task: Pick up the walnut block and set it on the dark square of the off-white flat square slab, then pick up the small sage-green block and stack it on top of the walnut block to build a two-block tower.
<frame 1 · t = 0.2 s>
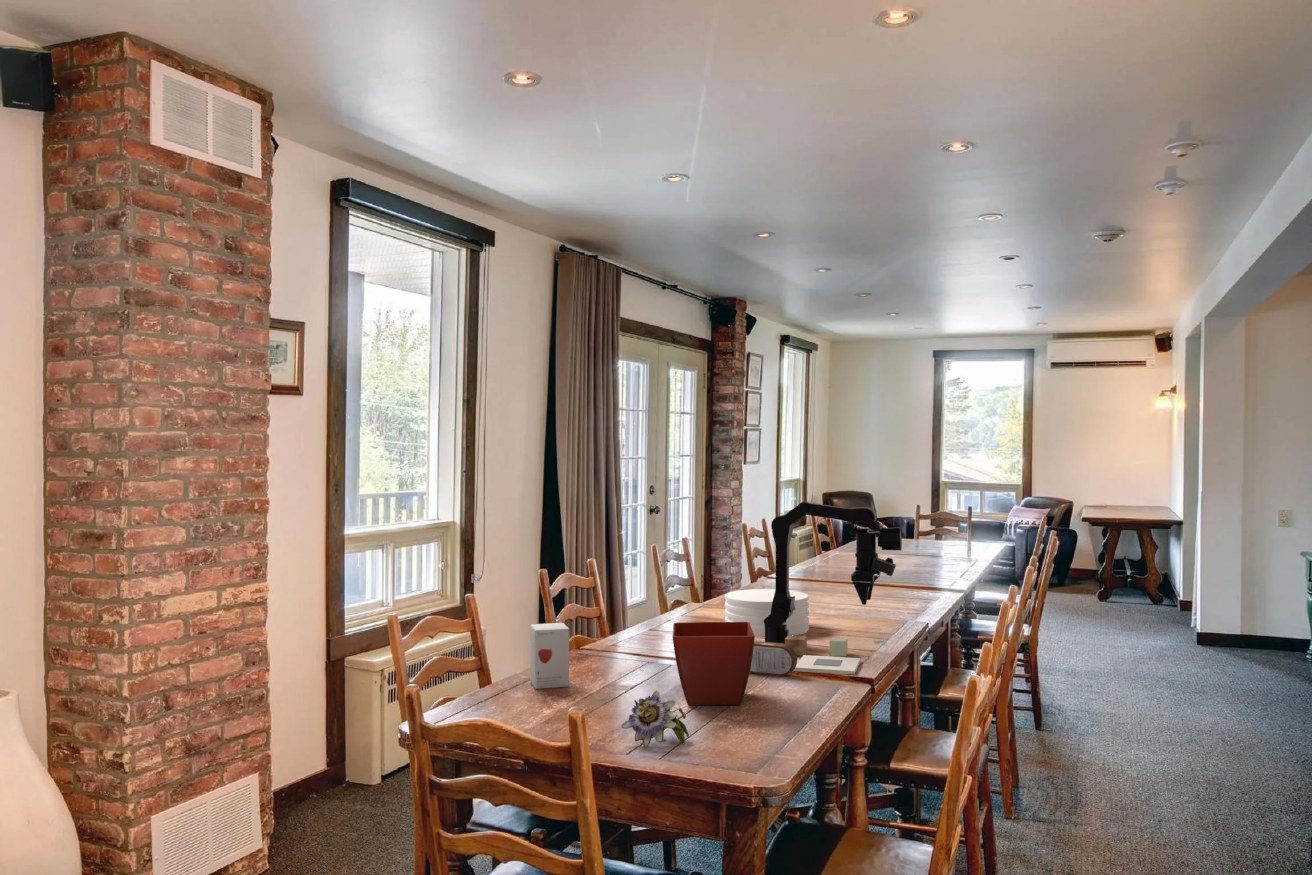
hand: (866, 602, 274), 14 cm above the table, tool pointing down, fingers open, 9 cm apart
walnut block: (796, 654, 270), on the table
tin: (768, 674, 246), on the table
passion flower: (656, 741, 190), on the table
plate stack: (766, 629, 310), on the table
off-white flat square slab: (828, 666, 254), on the table
plant pot: (713, 699, 222), on the table
supplement box: (549, 684, 238), on the table
sage block: (838, 654, 269), on the table
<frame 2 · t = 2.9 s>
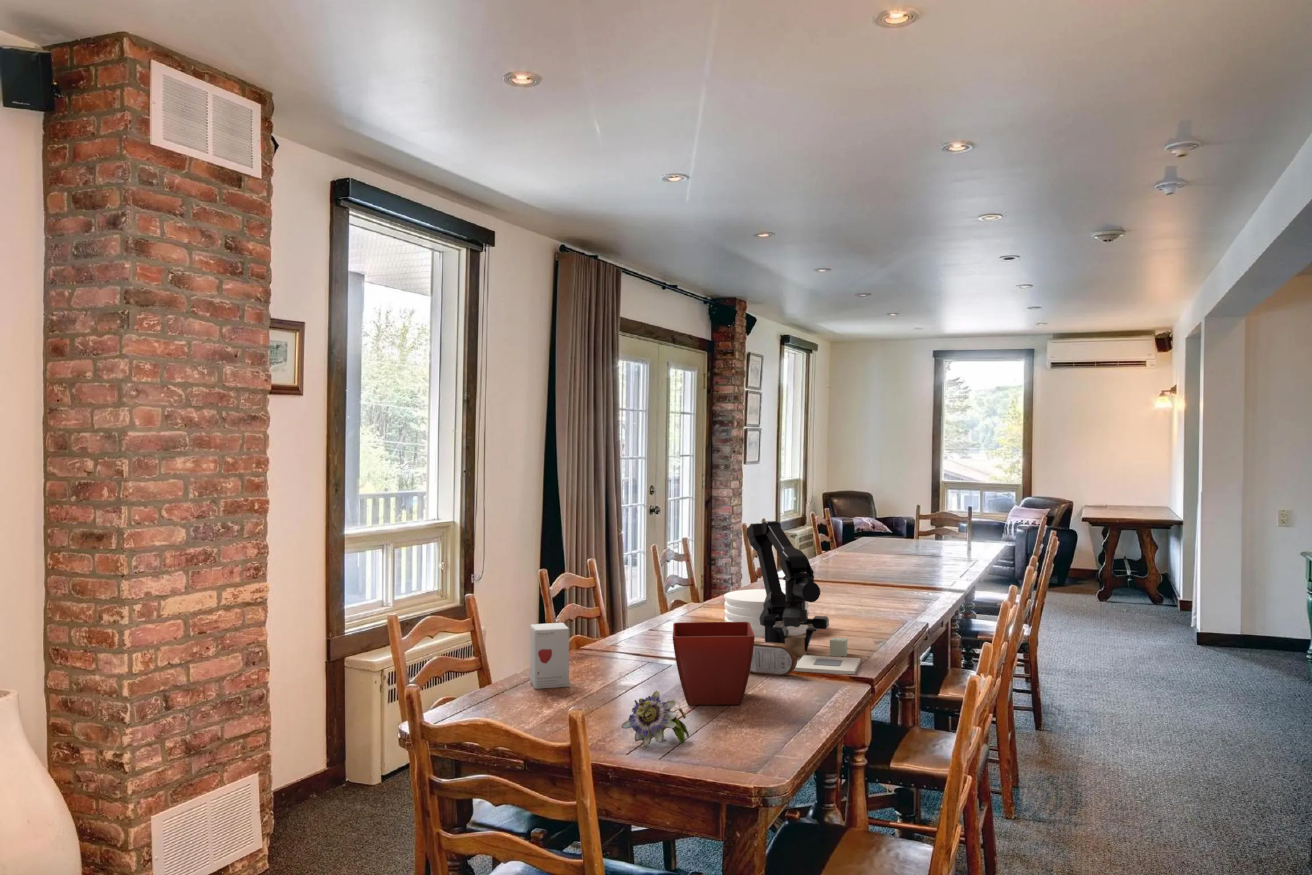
hand: (795, 650, 270), 1 cm above the table, tool pointing down, fingers closed on walnut block, 5 cm apart
walnut block: (796, 654, 270), on the table, touching gripper
everything else where it was.
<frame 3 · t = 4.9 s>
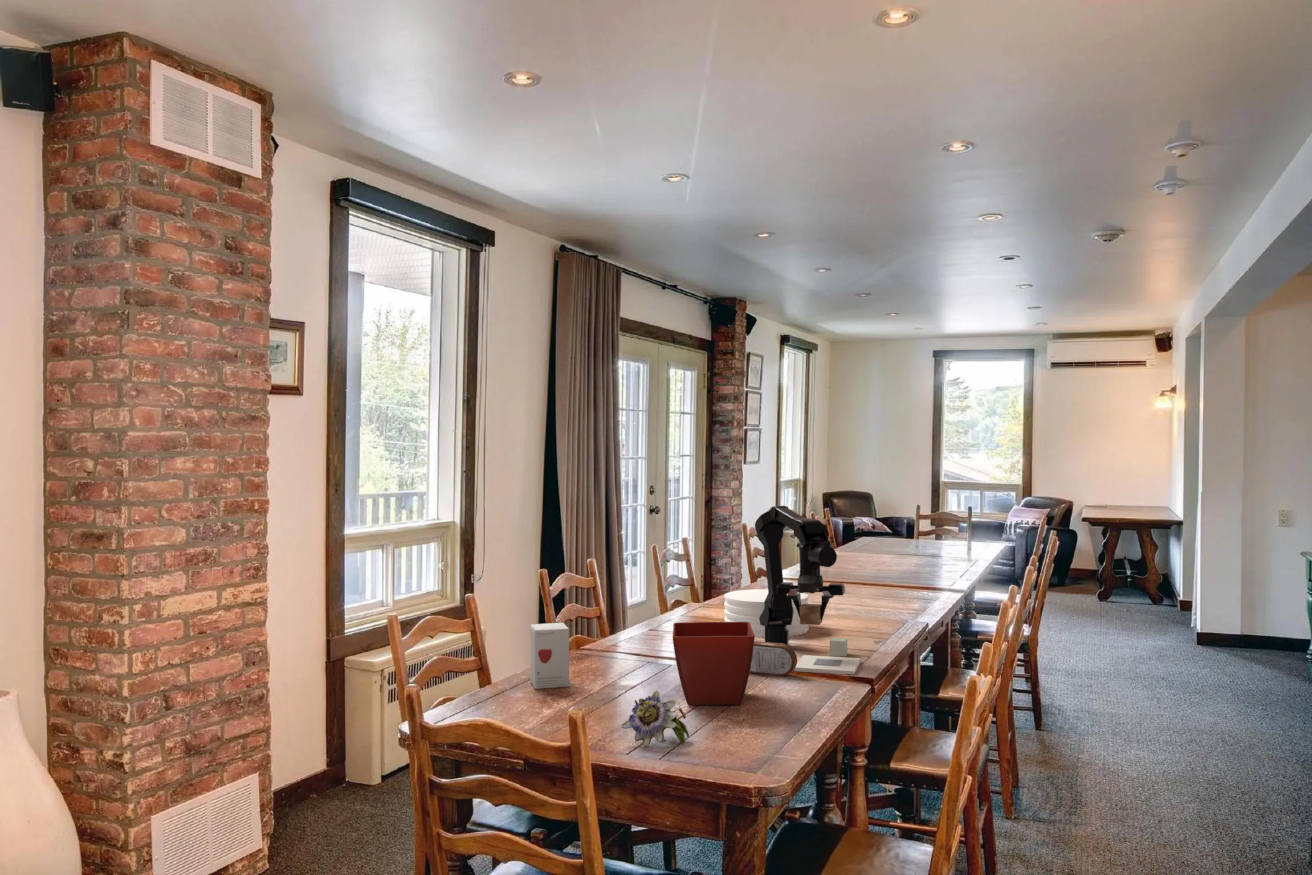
hand: (811, 619, 262), 12 cm above the table, tool pointing down, fingers closed on walnut block, 5 cm apart
walnut block: (811, 622, 262), point 11 cm above the table, touching gripper
everything else where it was.
when the fingers open (3 cm above the table, at t = 7.3 s): walnut block drops 1 cm, resting on off-white flat square slab.
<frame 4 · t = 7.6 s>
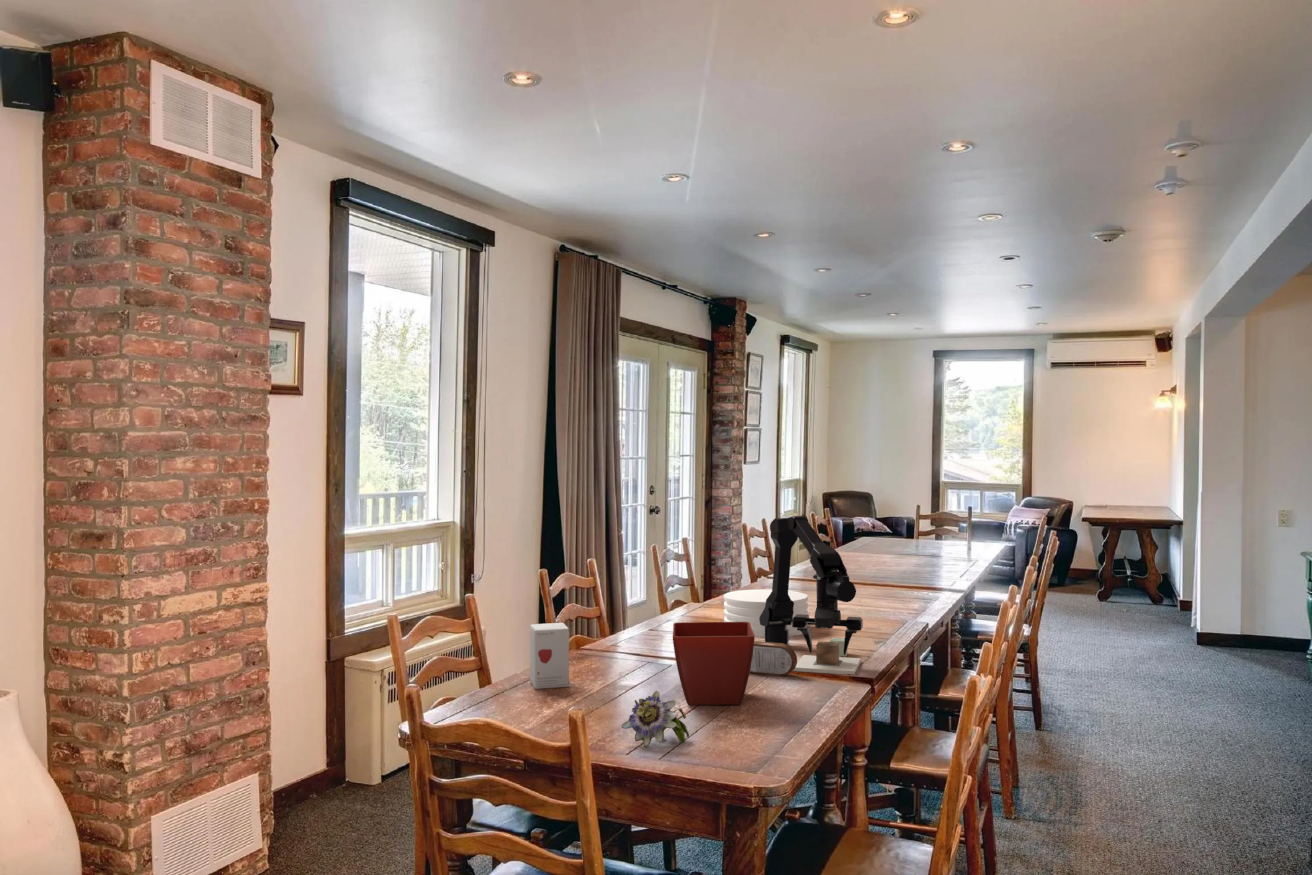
hand: (827, 653, 254), 3 cm above the table, tool pointing down, fingers open, 9 cm apart
walnut block: (827, 661, 254), point 1 cm above the table, touching off-white flat square slab
everything else where it was.
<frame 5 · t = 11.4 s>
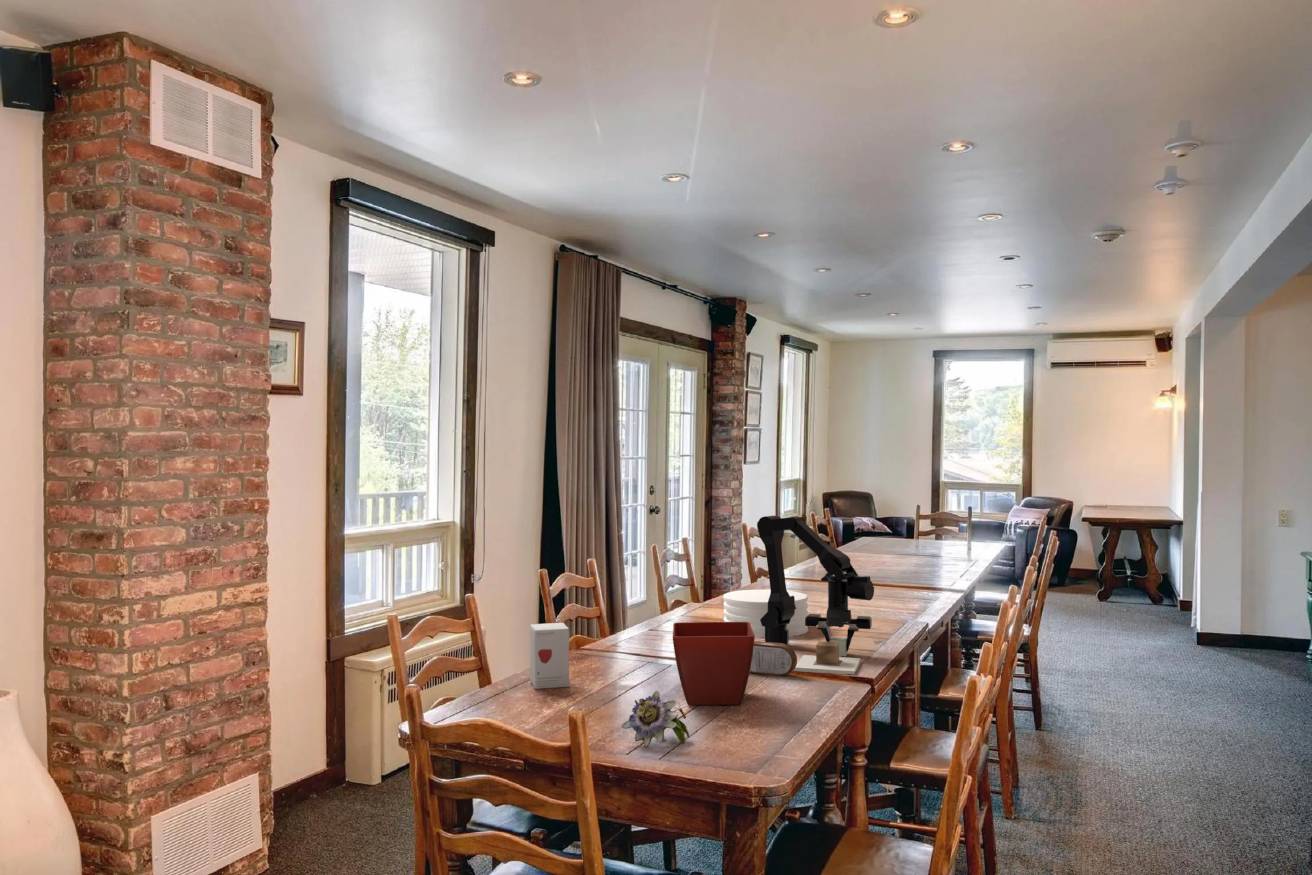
hand: (838, 650, 269), 1 cm above the table, tool pointing down, fingers closed on sage block, 4 cm apart
sage block: (838, 654, 269), on the table, touching gripper
everything else where it was.
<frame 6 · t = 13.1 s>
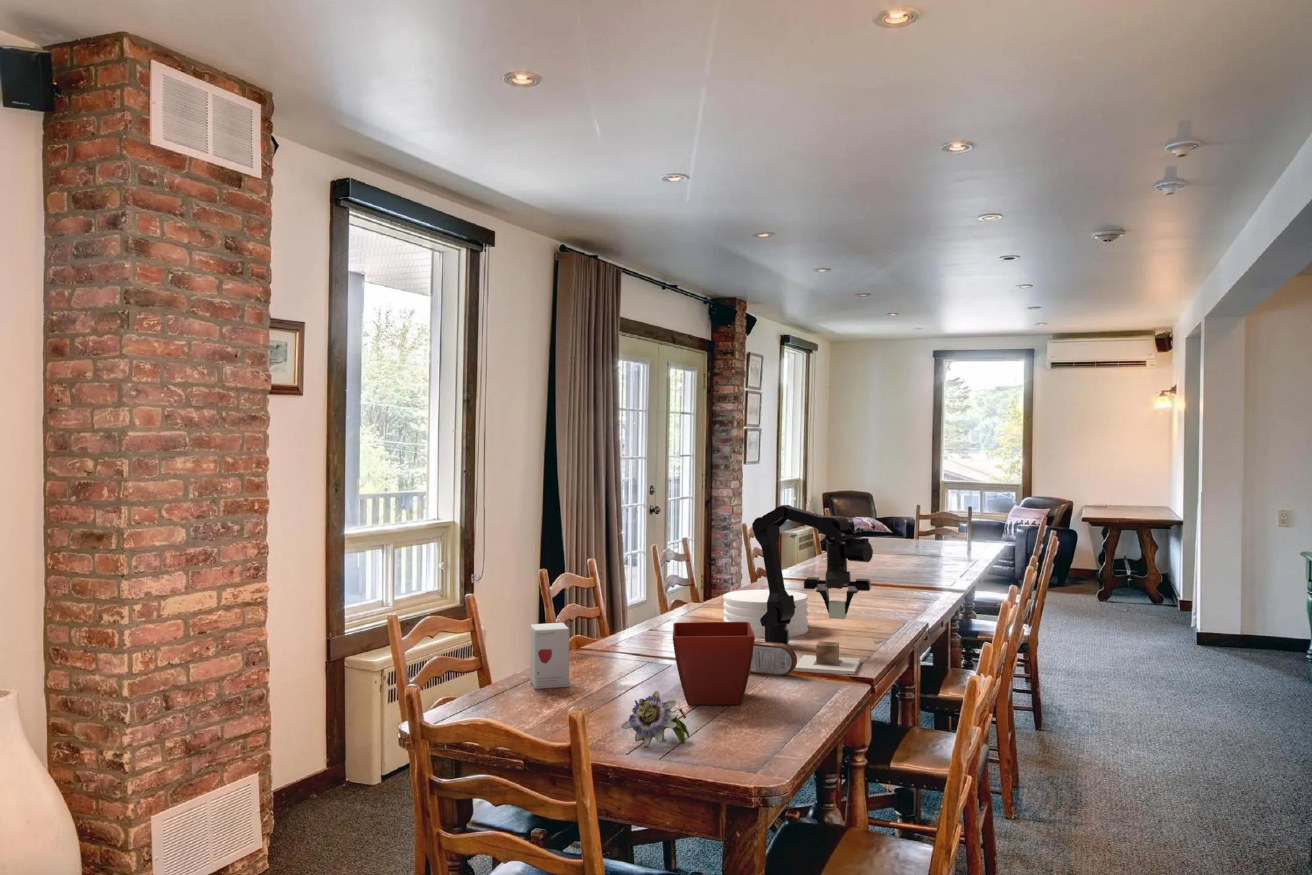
hand: (837, 613, 268), 12 cm above the table, tool pointing down, fingers closed on sage block, 4 cm apart
sage block: (837, 617, 268), point 11 cm above the table, touching gripper
when the fingers open (8 cm above the table, at t = 15.1 s): sage block drops 1 cm, resting on walnut block.
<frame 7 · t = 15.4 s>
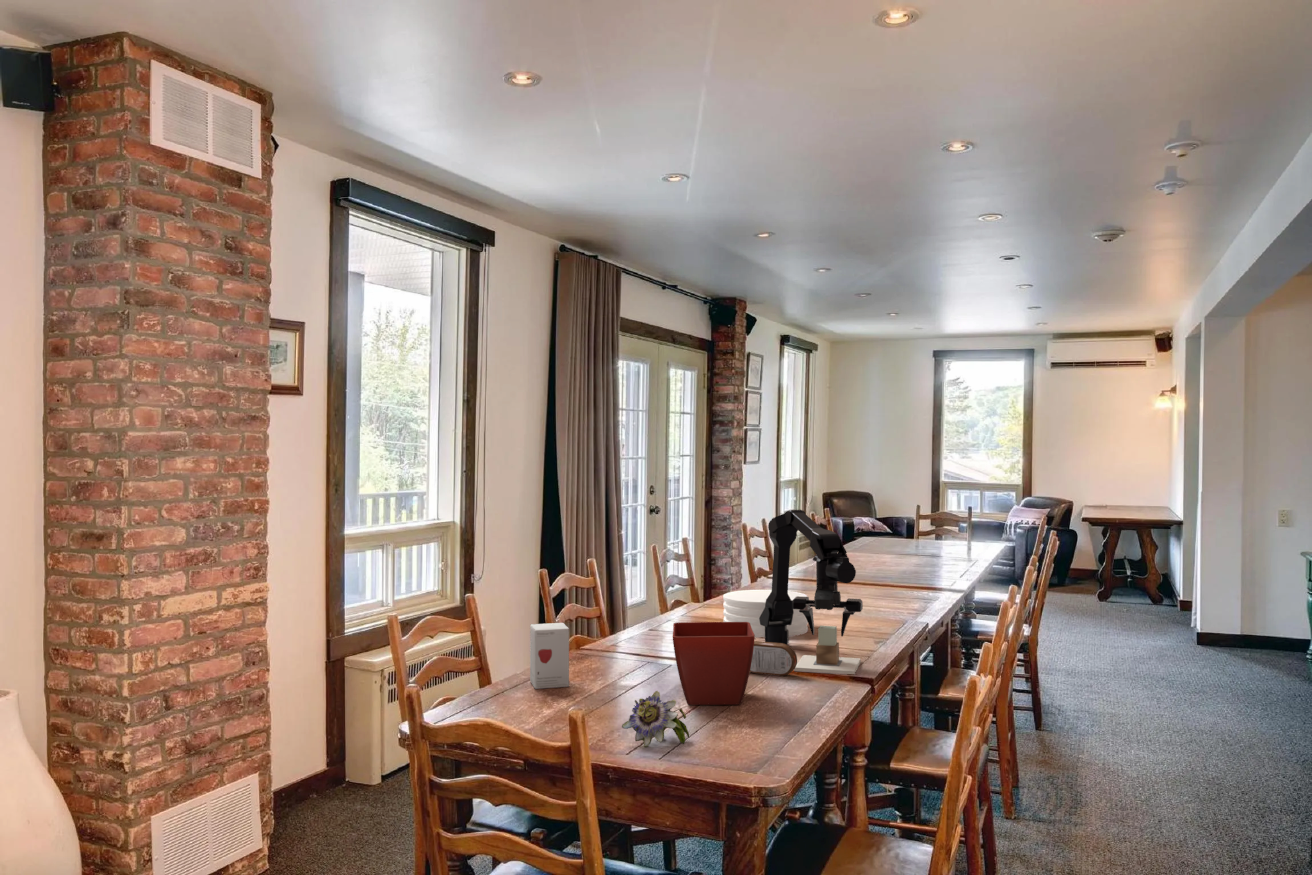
hand: (827, 635, 255), 8 cm above the table, tool pointing down, fingers open, 8 cm apart
walnut block: (827, 661, 254), point 1 cm above the table, touching off-white flat square slab, sage block
sage block: (827, 643, 255), point 6 cm above the table, touching walnut block
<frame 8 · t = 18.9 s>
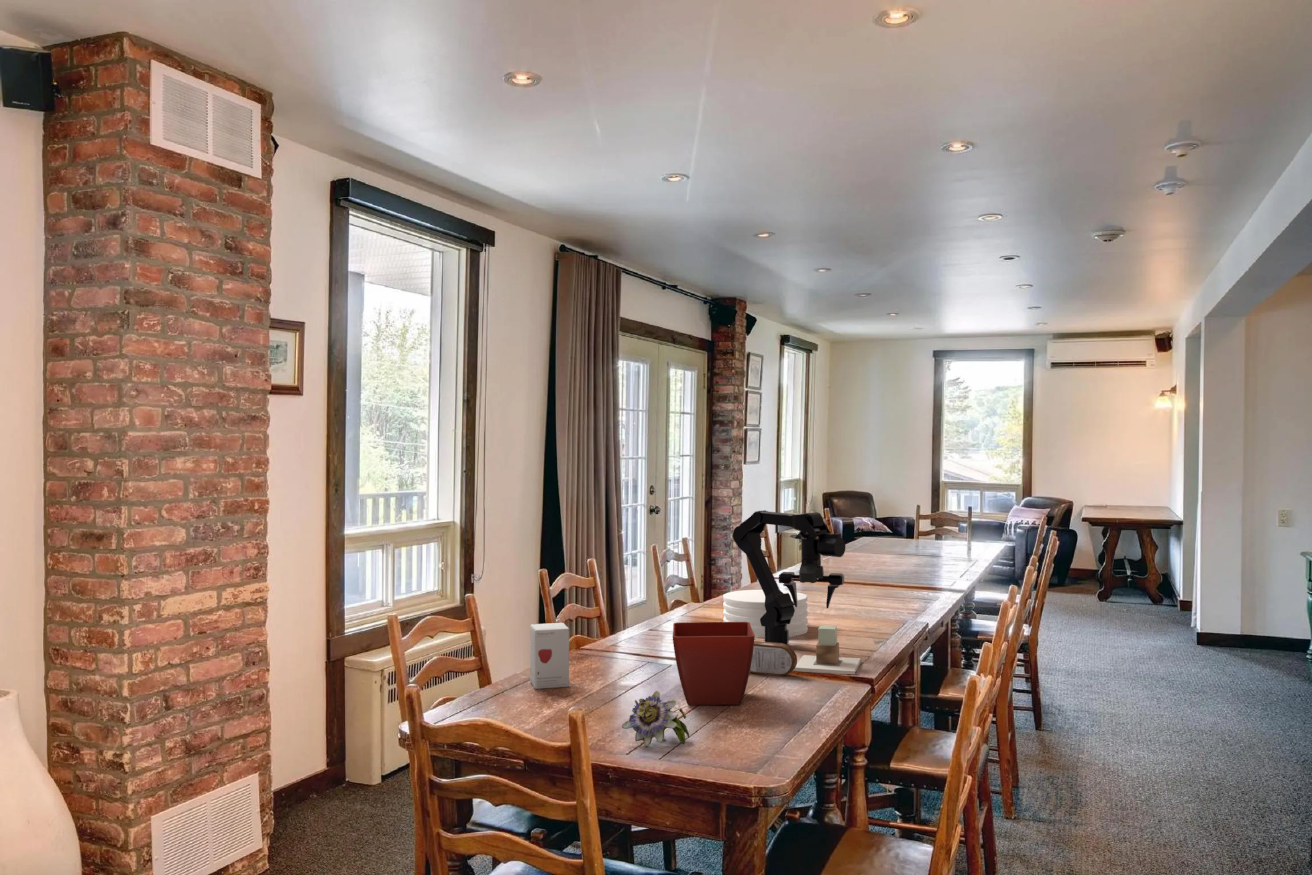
hand: (811, 607, 274), 13 cm above the table, tool pointing down, fingers open, 9 cm apart
at the end: walnut block 0.0 cm off-centre on the off-white flat square slab, point 1.2 cm above the off-white flat square slab's base; sage block 0.0 cm off-centre on the walnut block, point 5.0 cm above the walnut block's base; the gripper is holding nothing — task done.
